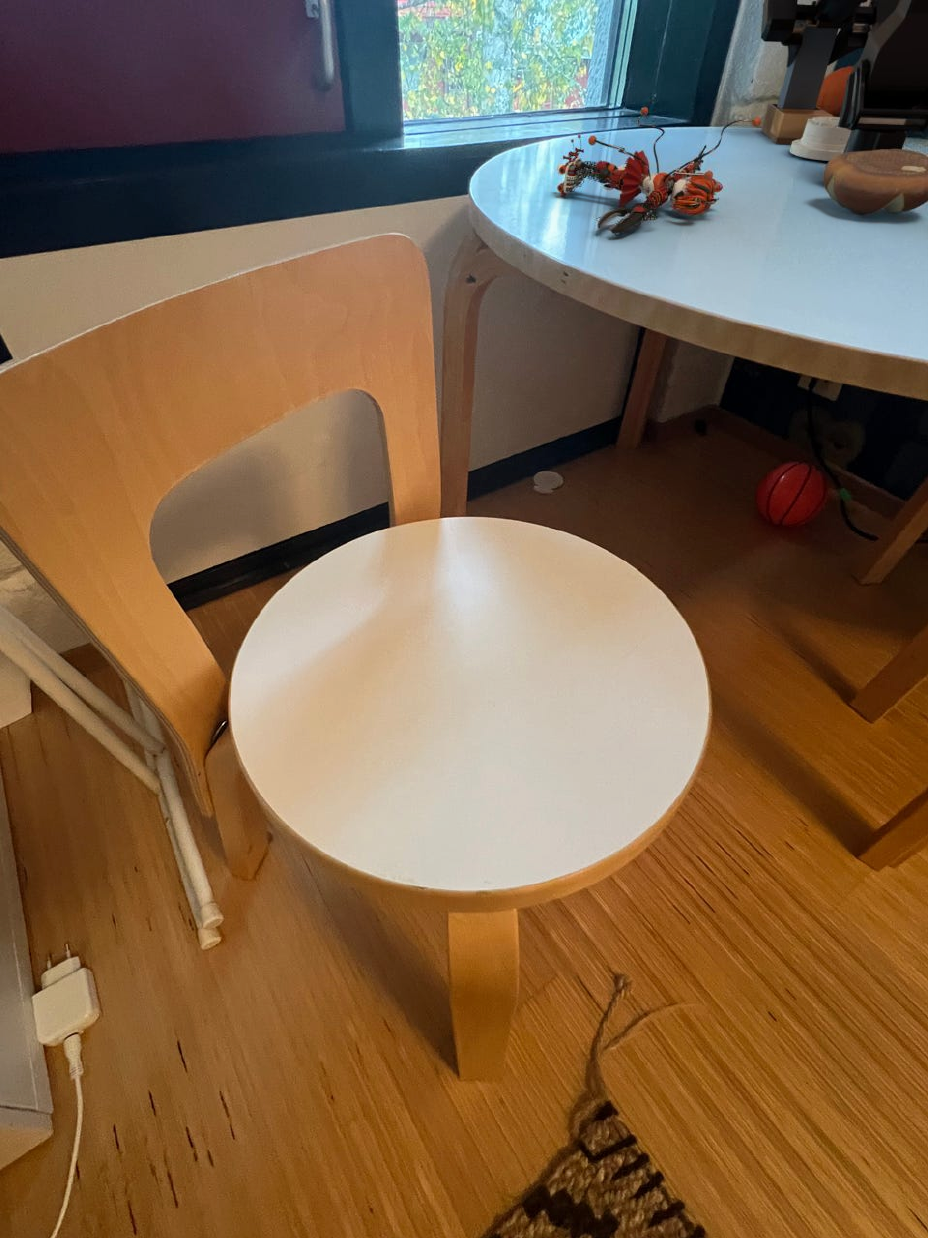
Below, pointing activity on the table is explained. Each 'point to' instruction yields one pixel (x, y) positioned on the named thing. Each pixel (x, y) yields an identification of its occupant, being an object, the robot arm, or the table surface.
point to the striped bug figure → (644, 183)
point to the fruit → (833, 91)
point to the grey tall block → (807, 70)
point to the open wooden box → (788, 123)
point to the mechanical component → (821, 139)
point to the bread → (878, 180)
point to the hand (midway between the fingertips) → (805, 64)
